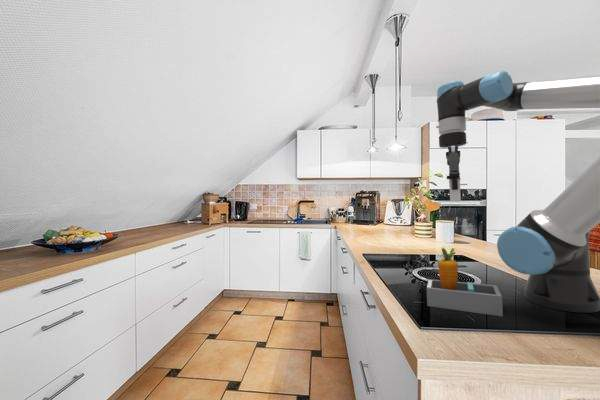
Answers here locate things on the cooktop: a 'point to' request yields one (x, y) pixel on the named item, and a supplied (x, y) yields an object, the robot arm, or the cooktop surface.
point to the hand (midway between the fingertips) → (455, 200)
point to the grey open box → (466, 298)
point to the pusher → (470, 287)
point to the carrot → (448, 270)
